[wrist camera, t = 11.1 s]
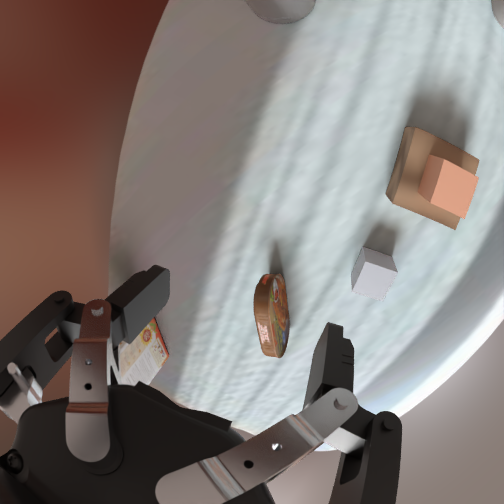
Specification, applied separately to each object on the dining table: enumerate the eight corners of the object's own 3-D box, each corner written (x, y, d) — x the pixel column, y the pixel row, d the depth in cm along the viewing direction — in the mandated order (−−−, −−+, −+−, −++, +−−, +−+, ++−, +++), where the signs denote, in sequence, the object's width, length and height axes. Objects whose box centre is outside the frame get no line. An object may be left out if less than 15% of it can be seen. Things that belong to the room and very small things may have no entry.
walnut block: (405, 127, 29) (415, 126, 25) (463, 155, 27) (479, 160, 23) (385, 194, 34) (392, 203, 29) (443, 217, 32) (455, 230, 28)
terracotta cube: (429, 154, 25) (444, 159, 21) (461, 170, 25) (478, 177, 20) (417, 192, 28) (430, 202, 23) (448, 206, 27) (464, 218, 23)
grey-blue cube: (362, 246, 38) (365, 261, 34) (391, 256, 37) (397, 272, 33) (351, 274, 40) (352, 291, 36) (379, 283, 40) (382, 301, 35)
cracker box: (134, 308, 59) (78, 366, 41) (154, 312, 57) (97, 376, 39) (151, 351, 65) (107, 407, 47) (170, 356, 63) (126, 417, 45)
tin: (291, 335, 49) (281, 368, 42) (274, 334, 50) (263, 367, 43) (282, 263, 43) (270, 293, 36) (263, 264, 44) (248, 292, 37)
